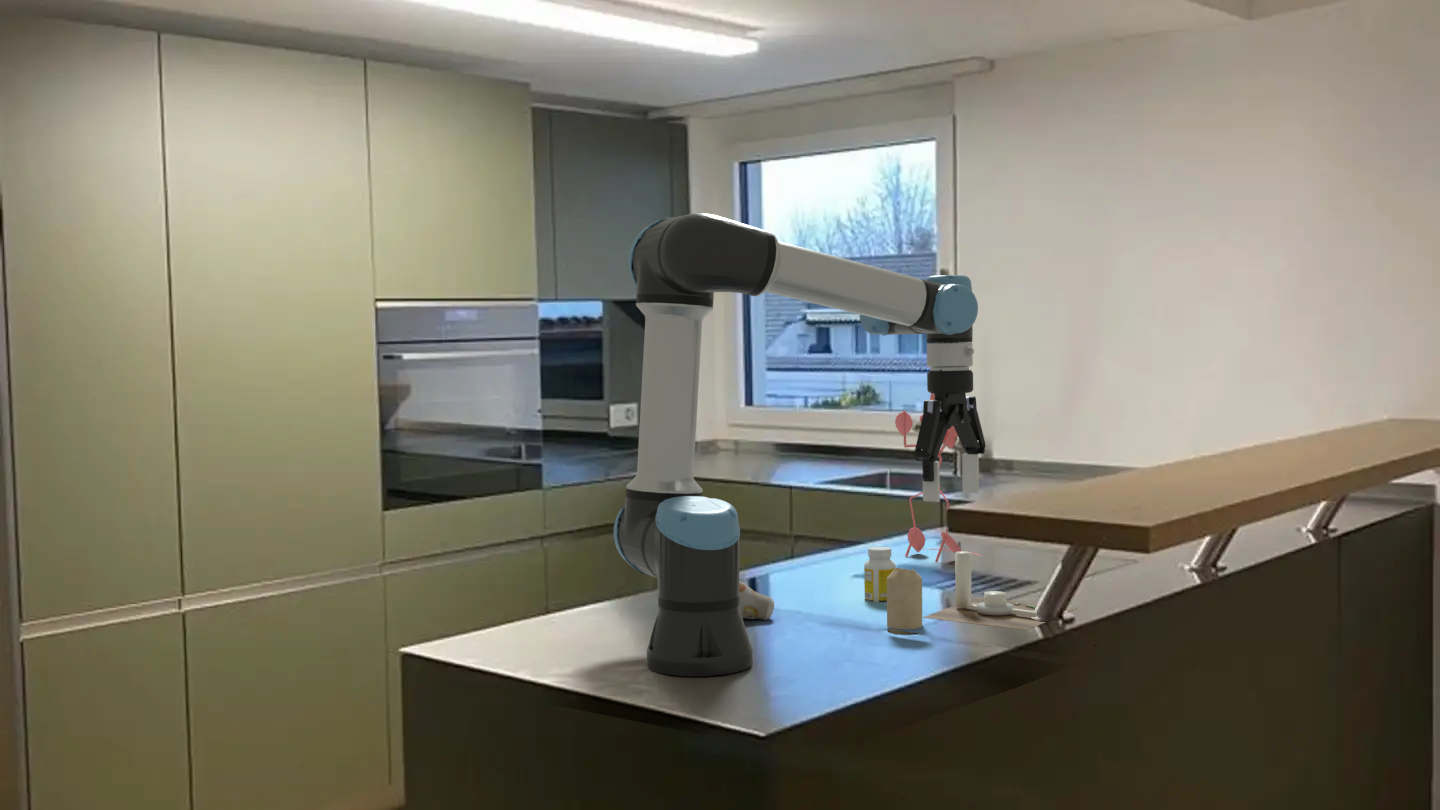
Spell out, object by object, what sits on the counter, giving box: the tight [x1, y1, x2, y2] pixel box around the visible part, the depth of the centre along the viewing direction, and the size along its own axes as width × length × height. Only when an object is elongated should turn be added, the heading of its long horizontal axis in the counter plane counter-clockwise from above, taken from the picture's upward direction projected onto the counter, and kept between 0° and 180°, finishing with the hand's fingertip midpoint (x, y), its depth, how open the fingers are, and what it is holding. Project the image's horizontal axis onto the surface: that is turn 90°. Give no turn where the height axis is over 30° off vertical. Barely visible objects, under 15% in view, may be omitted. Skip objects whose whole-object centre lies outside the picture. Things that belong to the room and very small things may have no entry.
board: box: [922, 596, 1078, 631], centre depth 228 cm, size 20×18×1 cm
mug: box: [739, 580, 775, 621], centre depth 230 cm, size 8×10×10 cm
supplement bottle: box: [863, 546, 897, 603], centre depth 241 cm, size 5×5×10 cm
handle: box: [954, 550, 1037, 617], centre depth 227 cm, size 15×6×9 cm, turn 49°
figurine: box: [894, 393, 982, 565], centre depth 290 cm, size 15×26×35 cm, turn 35°
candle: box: [886, 567, 923, 636], centre depth 219 cm, size 6×6×10 cm
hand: (951, 497), depth 231 cm, fingers open, 13 cm apart
